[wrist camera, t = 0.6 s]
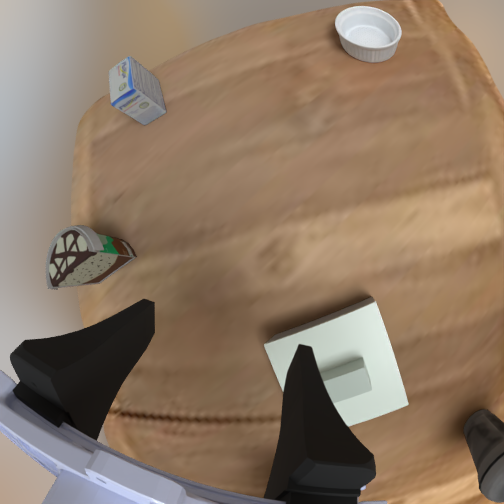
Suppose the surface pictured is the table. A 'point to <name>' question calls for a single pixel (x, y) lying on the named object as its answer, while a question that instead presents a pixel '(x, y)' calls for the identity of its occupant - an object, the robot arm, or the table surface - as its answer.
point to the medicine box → (136, 91)
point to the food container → (84, 257)
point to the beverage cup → (487, 452)
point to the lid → (349, 363)
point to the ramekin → (368, 33)
